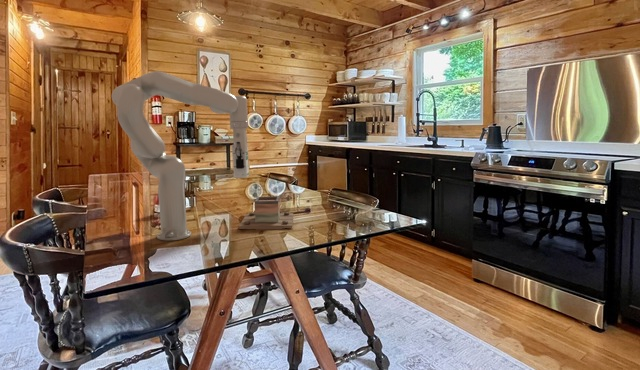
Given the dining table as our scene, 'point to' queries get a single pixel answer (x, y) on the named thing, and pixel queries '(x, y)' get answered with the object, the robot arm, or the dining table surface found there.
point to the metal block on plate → (267, 215)
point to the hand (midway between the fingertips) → (241, 167)
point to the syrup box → (245, 171)
